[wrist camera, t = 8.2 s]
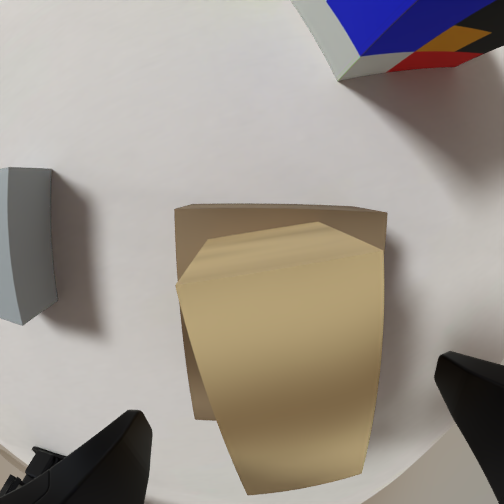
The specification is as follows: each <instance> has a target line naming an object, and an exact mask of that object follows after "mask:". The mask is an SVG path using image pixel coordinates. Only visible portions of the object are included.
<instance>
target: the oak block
mask: <svg viewBox="0 0 504 504" xmlns="http://www.w3.org/2000/svg"><path fill="white" fill-rule="evenodd" d="M175 286H176V290H177V294H178V298H179V302H180V306H181V310H182V313H183V317H184V321H185V324H186V328H187V331H188V335H189V338H190V342H191V345H192V349H193V352H194V355H195V359H196V362H197V365H198V368H199V371H200V374H201V377H202V381H203V384H204V387H205V390H206V392H207V395H208V398H209V401H210V404H211V407H212V410H213V412H214V415H215V418H216V421H217V423H218V426H219V429H220V431H221V434H222V436H223V439H224V442H225V444H226V447H227V449H228V452H229V454H230V456H231V459H232V461H233V464H234V466H235V468H236V471H237V473H238V475H239V477H240V480H241V482H242V484H243V486H244V489H245V491H246V493H247V495H257V494H267V493H275V492H283V491H289V490H295V489H301V488H306V487H311V486H316V485H321V484H325V483H329V482H333V481H337V480H341V479H345V478H348V477H352V476H355V475H358V474H362V470H363V466H364V462H365V457H366V453H367V449H368V444H369V439H370V434H371V429H372V423H373V418H374V412H375V405H376V398H377V391H378V383H379V375H380V365H381V354H382V340H383V321H384V254H383V250H381V249H379V248H377V247H375V246H372V245H370V244H368V243H366V242H364V241H361V240H359V239H357V238H355V237H353V236H350V235H348V234H346V233H343V232H341V231H339V230H337V229H334V228H332V227H330V226H327V225H325V224H323V223H320V222H313V223H306V224H300V225H293V226H287V227H281V228H274V229H268V230H262V231H255V232H249V233H243V234H237V235H231V236H225V237H219V238H213V239H208V240H207V241H206V243H205V244H204V245H203V247H202V248H201V250H200V251H199V252H198V254H197V255H196V257H195V258H194V259H193V261H192V262H191V264H190V265H189V266H188V268H187V269H186V271H185V272H184V274H183V275H182V276H181V278H180V279H179V281H178V282H177V284H176V285H175Z"/></svg>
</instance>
